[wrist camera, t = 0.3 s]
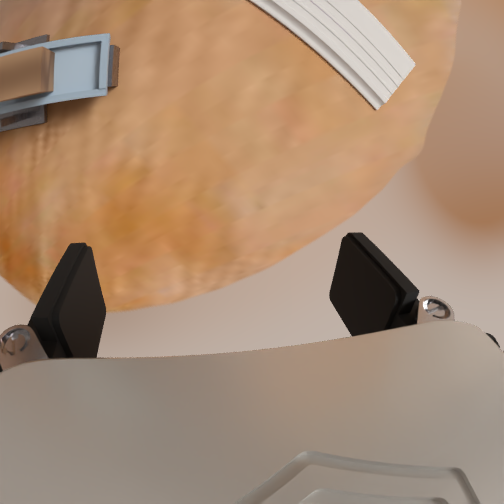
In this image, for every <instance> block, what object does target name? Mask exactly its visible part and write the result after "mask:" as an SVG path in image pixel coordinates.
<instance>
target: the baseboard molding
mask: <svg viewBox="0 0 504 504" xmlns="http://www.w3.org/2000/svg"><path fill="white" fill-rule="evenodd" d="M250 1H251V2H253V3H254V4H255V5H257V6H258V7H260V8H261V9H263V10H264V11H265V12H267V13H268V14H270V15H271V16H272V17H274V18H275V19H276V20H278V21H279V22H280V23H282V24H283V25H284V26H286V27H287V28H288V29H290V30H291V31H292V32H293V33H295V34H296V35H297V36H298V37H300V38H301V39H302V40H303V41H304V42H306V43H307V44H308V45H309V46H310V47H312V48H313V49H314V50H315V51H316V52H317V53H318V54H320V55H321V56H322V57H323V58H324V59H325V60H326V61H327V62H329V63H330V64H331V65H332V66H333V67H334V68H335V69H336V70H337V71H338V72H339V73H340V74H341V75H342V76H343V77H345V78H346V79H347V80H348V81H349V82H350V83H351V84H352V85H353V86H354V87H355V88H356V89H357V90H358V91H359V92H360V93H361V94H362V95H363V97H364V98H365V99H366V100H367V101H368V102H369V103H370V104H371V105H372V106H373V107H374V108H375V109H376V110H378V109H379V107H380V106H382V105H383V104H385V103H386V102H387V101H388V99H389V98H390V96H391V95H392V94H393V93H394V91H395V90H396V89H397V87H399V85H400V84H401V82H402V81H403V80H404V79H405V78H406V76H407V75H408V74H409V73H410V71H411V70H412V69H413V67H414V66H415V65H416V64H415V63H414V61H413V60H412V59H411V58H410V56H409V55H408V54H407V53H406V52H405V50H404V49H403V48H402V47H401V46H400V44H399V43H398V42H397V41H396V40H395V39H394V37H393V36H392V35H391V34H390V33H389V32H388V31H387V30H386V28H385V27H384V26H383V25H382V24H381V23H380V22H379V21H378V20H377V19H376V18H375V17H374V16H373V15H372V14H371V13H370V12H369V11H368V10H367V9H366V8H365V7H364V6H363V5H362V4H361V3H360V2H359V1H358V0H250Z"/></svg>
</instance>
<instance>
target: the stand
mask: <svg viewBox="0 0 504 504" xmlns="http://www.w3.org/2000/svg"><path fill="white" fill-rule="evenodd" d="M46 42H49V35H43V36H39V37H35V38H32V39H28V40H25V41H21V42H18V43H9V42H1V43H0V53H5V52H8V51H12V50H15V49H19V48H23V47H27V46H32V45H36V44H41V43H46ZM119 52H120V48H119V47H117V46H115V45H110V49H109V64H108V86H107V87H114V86H118V68H119ZM45 122H47V108H46V104H44V105H39V106H34V107H29V108H24V109H20V110H16V111H12V112H7V113H4V114H0V132H1V131H5V130H10V129H15V128H19V127H24V126H29V125H35V124H40V123H45Z"/></svg>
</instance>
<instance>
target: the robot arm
mask: <svg viewBox="0 0 504 504" xmlns="http://www.w3.org/2000/svg"><path fill="white" fill-rule="evenodd" d="M418 293H419V290H418V289H417V288H416V287H415V286H414V285H413V283H412V282H411V281H410V280H409V279H408V278H407V277H406V276H405V275H404V274H403V273H402V272H401V271H400V270H399V269H398V268H397V267H396V266H395V265H394V264H393V263H392V262H391V261H390V260H389V259H388V258H387V256H385V255H384V253H383V252H381V250H380V249H379V248H378V247H377V246H375V245H374V244H373V243H372V242H371V241H370V240H369V239H368V238H367V237H366V236H365V235H364V234H363V233H348V234H347V235H346V236H345V237H343V239H342V242H341V246H340V251H339V256H338V259H337V264H336V268H335V272H334V276H333V281H332V285H331V289H330V295H329V296H330V301H331V302H332V304H333V306H334V307H335V309H336V311H337V312H338V314H339V316H340V317H341V318H342V320H343V322H344V324H345V325H346V327H347V328H348V330H349V332H350V334H351V335H352V337H346V338H340V339H334V340H328V341H322V342H315V343H308V344H301V345H295V346H286V347H278V348H270V349H262V350H252V351H242V352H231V353H219V354H205V355H188V356H168V357H137V358H96V357H97V352H98V347H99V343H100V338H101V334H102V329H103V325H104V321H105V316H106V307H105V303H104V299H103V295H102V291H101V287H100V283H99V279H98V275H97V270H96V266H95V261H94V256H93V252H92V248H91V247H90V246H88V247H87V245H86V243H71V244H70V245H69V246H68V248H67V250H66V252H65V253H64V255H63V257H62V258H61V260H60V262H59V264H58V266H57V267H56V269H55V271H54V273H53V275H52V276H51V278H50V280H49V282H48V284H47V286H46V288H45V290H44V292H43V294H42V296H41V298H40V300H39V302H38V304H37V306H36V308H35V310H34V312H33V314H32V316H31V319H30V321H29V323H28V325H15V326H12V327H10V328H8V329H6V330H5V331H4V332H3V333H2V334H1V335H0V504H504V351H502V350H501V349H500V346H499V345H498V342H497V341H496V339H495V338H494V337H493V336H492V335H491V334H488V333H485V332H483V331H482V330H481V329H480V328H478V327H477V326H475V325H472V324H468V323H464V322H459V321H455V319H454V312H453V309H452V308H451V306H450V305H449V304H448V303H446V302H445V301H443V300H442V299H439V298H437V297H433V296H426V297H423V298H421V299H420V301H419V300H418V299H417V296H418Z"/></svg>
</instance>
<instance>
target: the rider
mask: <svg viewBox="0 0 504 504" xmlns="http://www.w3.org/2000/svg"><path fill="white" fill-rule="evenodd" d="M54 62H55V53H54V52H52V51H50V50H49V49H47V48H45V47H43V46H42V47H37V48H32V49H28V50H24V51H20V52H16V53H12V54H9V55H5V56H2V57H0V102H2V101H8V100H14V99H18V98H22V97H27V96H31V95H36V94H41V93H46V92H52V91H54Z"/></svg>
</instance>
